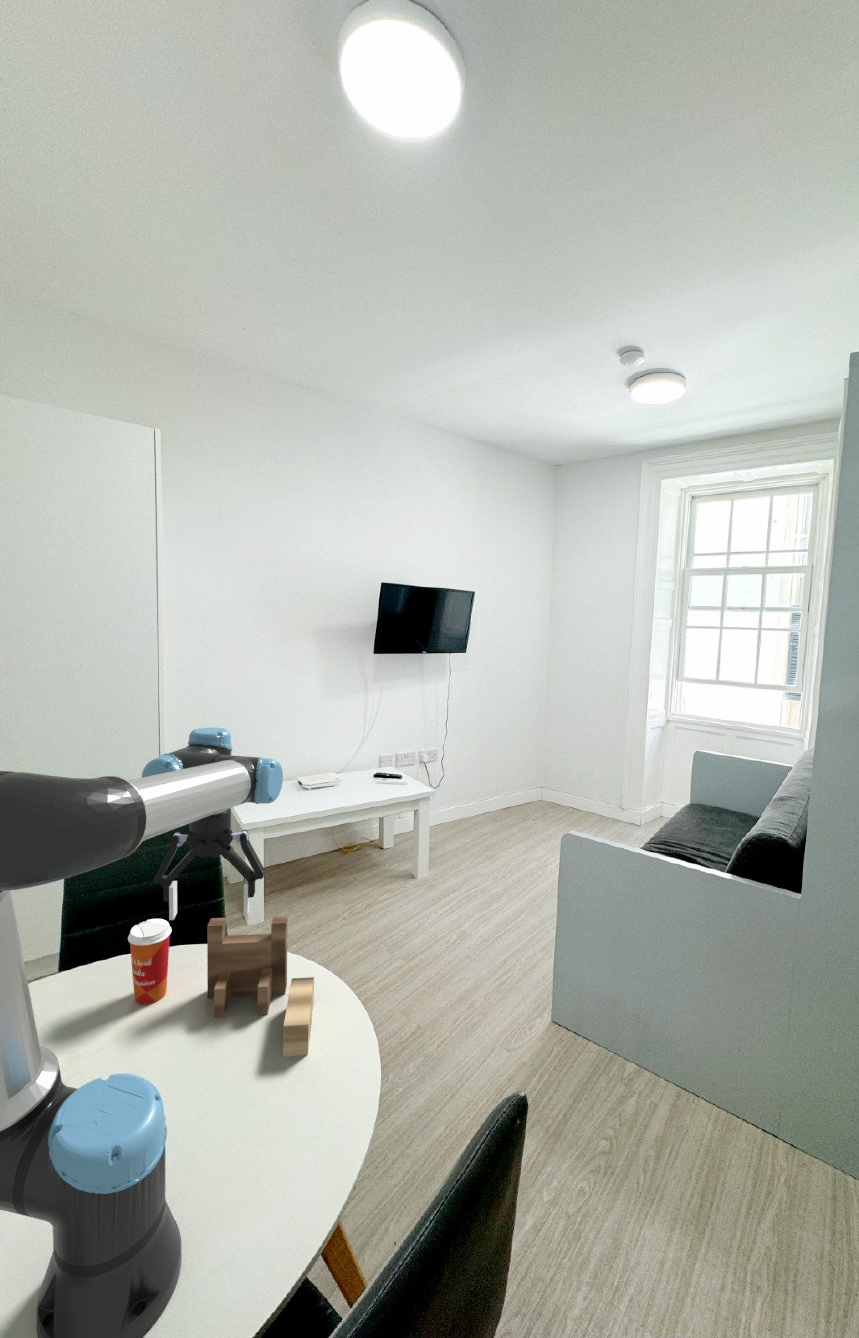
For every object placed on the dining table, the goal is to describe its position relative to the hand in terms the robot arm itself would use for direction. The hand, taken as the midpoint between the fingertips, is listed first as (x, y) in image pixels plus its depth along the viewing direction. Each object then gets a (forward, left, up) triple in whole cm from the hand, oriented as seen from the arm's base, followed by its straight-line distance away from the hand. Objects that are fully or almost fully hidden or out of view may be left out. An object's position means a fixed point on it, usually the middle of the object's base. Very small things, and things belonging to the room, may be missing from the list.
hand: (210, 914), depth 110 cm
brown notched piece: (+6, -6, -22) cm, 24 cm away
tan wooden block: (-4, -18, -22) cm, 29 cm away
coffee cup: (+9, +14, -23) cm, 28 cm away
